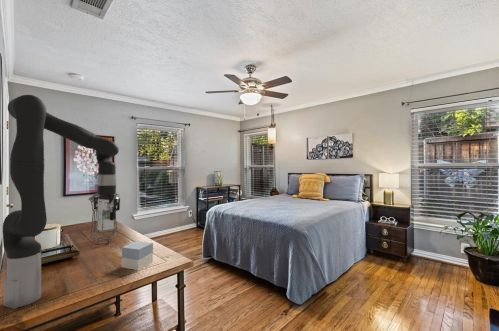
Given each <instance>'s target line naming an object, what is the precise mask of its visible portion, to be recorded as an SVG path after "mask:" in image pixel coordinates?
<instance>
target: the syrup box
mask: <svg viewBox="0 0 499 331" xmlns="http://www.w3.org/2000/svg"><path fill="white" fill-rule="evenodd" d="M107 202H108V203H109V200H105V199H98V205H97V206H98V214H97V219H96V229H97V230H99V232H108V231H110V230H111V231H113V229H114V230H116V222H115V220H110V210H109V208H108V207H107ZM109 204H110V205H113V204H114V202H113V200H112V202H111V203H109ZM112 209H113V207H112Z"/></svg>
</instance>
